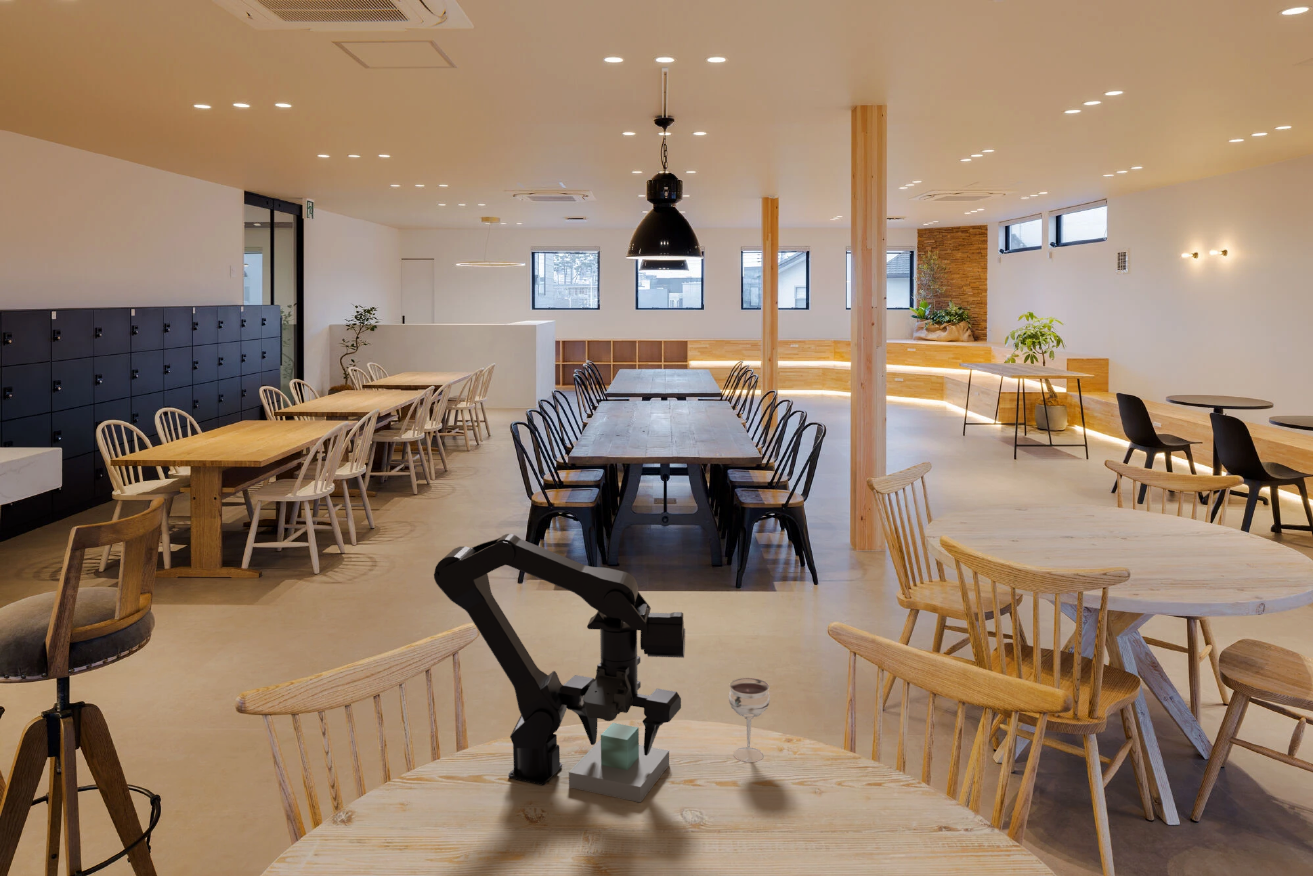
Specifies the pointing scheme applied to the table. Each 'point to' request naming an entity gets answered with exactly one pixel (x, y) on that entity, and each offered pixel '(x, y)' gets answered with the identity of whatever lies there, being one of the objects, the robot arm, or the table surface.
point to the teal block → (619, 746)
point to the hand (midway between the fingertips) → (619, 749)
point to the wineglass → (749, 709)
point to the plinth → (619, 774)
